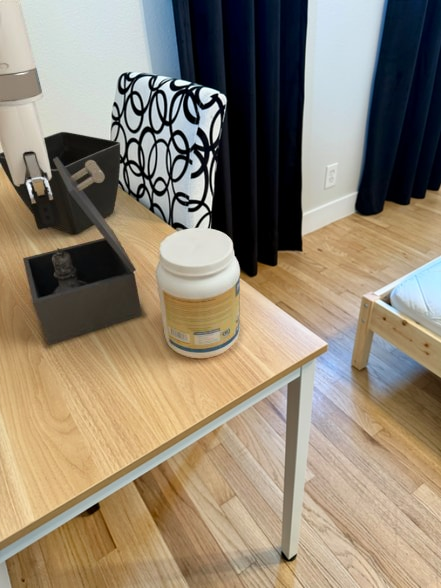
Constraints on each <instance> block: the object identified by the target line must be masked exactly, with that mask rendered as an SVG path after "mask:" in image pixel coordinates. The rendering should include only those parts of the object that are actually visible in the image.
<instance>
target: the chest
mask: <svg viewBox="0 0 441 588" xmlns="http://www.w3.org/2000/svg"><path fill="white" fill-rule="evenodd" d="M60 249H61V251H65V252H67V253H69V255H70V257H71V261H72V264H73V267H75V268H76V269H77V272H76V276H77V279H78V280H79V281H83V282H85V283H87V285H84V286H80V287H77V288H73V289H70V290H66V291H62V292H59V293H55V294H53V292H54V290H55V289H56V288H57V287H58V286H59V282H58V279H57V278H56V277H55V276H54V273H55V268H54V265H53V262H52V257H53V255H54V254H55V253H57V249H54V250H50V251H46V252H43V253H38V254H34V255H30V256H27V257H23V258H22V261H23V266H24V269H25V273H26V278H27V283H28V287H29V292H30V295H31V301H32V304H33V307H34V310H35V312H36V315H37V317H38V321H39V323H40V325H41V327H42V331H43V333H44V336H45V339H46V341H47V344H48V345H49V346H50V345H53V344H56V343H60V342H64V341H67V340H70V339H72V338H76V337H80V336H82V335H85V334H88V333H91V332H92V333H93V332H94V331H97V330H98V331H99V330H101V329H104V328H108V327H110V326H114V325H117V324H119V323H122V322H125V321H129V320H132V319H135V318H138V317H141V316H143V313H142V307H141V302H140V297H139V296H140V295H139V290H138V285H137V279H136V274H135V271H134V272H133V273H132V272H131V271H130V270H129V268H128V267H127V266H126V265H125V263H124V262H123V261H122V259H121V258H120V257H119V256H118V254H117V253H116V252H115V250H114V249H113V248H112V247H111V245H110V244H109V243H108V242H107V240H106V239H105V238H104V237H103V238H99V239H94V240H91V241H86V242H83V243H78V244H75V245H70V246H67V247H62V248H60Z"/></svg>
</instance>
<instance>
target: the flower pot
mask: <svg viewBox="0 0 441 588" xmlns="http://www.w3.org/2000/svg"><path fill="white" fill-rule="evenodd" d="M44 140H45V145H46V149H47V154H48V159H49V164H50V169H51V175H52V178H51V179H50V180H49V181H48V183H49V186H50V189H51V193H52V196H53V197H54V198H55V201H56V205H57V208H58V212H59V216H60V220H61V225H59V226H55V227H53V228H54V229H58V230H60V231H63V232H67V233H69V234H73V235H76V234H79V233H82V232H83V231H85V230H87V229H89V228H90V227H92V226H95V225H94V224H93V222H92V221H91V220H90V219H89V217H88V216H87V215H86V213H85V212H84V211H83V210H82V208H81V207H80V206H79V204H78V203H77V202H76V201H75V199H74V198H73V197H72V196H71V194H70V193H69V191H68V189H67V187H66V185H65V183H64V181H63V179H62V177H61V175H60V173H59V171H58V169H57V167H56V165H55V163H54V161H53V159H54V158H56V157H58V158H59V160H60V161H61V162H62V164H63V165H64V166H65V168H66V169H67V170H68V172H69V173H70V174H71V176H72V175H74V174H75V173H77V172H78V171H80V170H82V169H83V168H85V163H86V162H87V161H88V160H93V161H95V162H96V163H97V165H98V166H99V168H100V169H101V171H102V172H103V173H104V176H105V178H104V180H103V182H101V183H96V182H93V183H92V184H90V185H89V186H87V187H86V188H84V189H83V192H84V193H85V194H86V196H87V197H88V198H89V200H90V201H91V202H92V204H93V205H94V206H95V208H96V209H97V210H98V212H99V213H100V214H101V216H102V217H103V218H104V219H106V218H107V217H109V216H111V215H112V214H113V213H114V211H115V206H116V201H117V195H118V190H119V182H120V172H121V171H120V169H121V142H120V141H117V140H111V139H106V138H100V137H95V136H89V135H84V134H81V133H80V134H79V133H74V132H69V131H68V132H67V131H60V132H57V133H54V134H50V135H48V136H45V137H44ZM0 166H1V167H2V170H3V171H4V173H5V175H6V177H7V179H8V180H9V182H10V184H11V185H12V187H13V188H14V190H15V191H16V193H17V194H18V196H19V197H20V199H21V201H22V202H23V203H24V205H25V206H26V207H27V209H28V210H29V211H30V212H31V214H32V215H33V212H32V209H31V205H30V201H29V198H28V195H27V192H26V189H25V185H24V184H20V186H16V185H15V184H14V182H13V179H12V176H11V173H10V170H9V167H8V164H7V161H6V158H5V155H4V152H3V151H2V152H0ZM26 176H27V175H26ZM90 177H91V176H90V175H89V173H87V174H85V175H84V176H82V177H81V178H79V179H78V180H76V182H77V184H78V185H79V184H80V183H82V182H83V181H85V180H86V179H88V178H90Z"/></svg>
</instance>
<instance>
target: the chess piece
mask: <svg viewBox="0 0 441 588" xmlns="http://www.w3.org/2000/svg"><path fill="white" fill-rule="evenodd" d="M61 249H62V248H59V247H58V248H56V250H57V253H55V254H54V255H53V257H52V262H53V265H54V268H55V273H54V276H55V277H56V278H57V279H58V282H59V286H58V287H57V288H56V289H55V290H54V292H53V294H55V293H59V292H62V291H66V290H70V289H73V288H77V287H80V286H84V285H87V283H85V282H83V281H79V280H78V279H77V276H76V272H77V269H76V268H75V267H73V264H72V261H71V257H70V255H69V253H67V252H65V251H61Z"/></svg>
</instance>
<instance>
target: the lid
mask: <svg viewBox="0 0 441 588" xmlns="http://www.w3.org/2000/svg"><path fill="white" fill-rule="evenodd" d="M53 161H54V163H55V165H56V167H57V169H58V171H59V173H60V175H61V177H62V179H63V181H64V183H65V185H66V187H67V189H68V191H69V193H70V194H71V196H72V197H73V198H74V199H75V201H76V202H77V203H78V204H79V206H80V207H81V208H82V210H83V211H84V212H85V213H86V215H87V216H88V217H89V219H90V220H91V221H92V222H93V224H94V225H93V226H95V228H96V229H97V230H98V232H100V234H101V235H102V236H103V238H105V239H106V240H107V242H108V243H109V244H110V245H111V247H112V248H113V249H114V250H115V252H116V253H117V254H118V256H119V257H120V258H121V259H122V261H123V262H124V263H125V265H126V266H127V267H128V268H129V270H130V271H131V272H132V273H133V272H134V273H135V272H136V271H137V269H136V267H135V266H134V264H133V262H132V260H131V259H130V256H129V255H128V254H127V251H126V250H125V249H124V247H123V245H122V243H121V242H120V240H119V238H118V236H117V235H116V233H115V232H114V230H113V229H112V228H111V226H110V224H108V222H107V221H106V220H105V218H103V217H102V216H101V214H100V213H99V212H98V210H97V209H96V208H95V206H94V205H93V204H92V202H91V201H90V200H89V198H88V197H87V196H86V194H85V193H84V192H83V189H84V188H86V187H87V186H89V185H90V184H92V183H93V182H96V183H101V182H103V180H104V178H105V176H104V173H103V172H102V171H101V169H100V168H99V166H98V165H97V163H96V162H95V161H93V160H88V161H87V162H86V163H85V168H83V169H82V170H80V171H78V172H77V173H75V174H74V175H72V176H71V174H70V173H69V172H68V170H67V169H66V168H65V166H64V165H63V164H62V162H61V161H60V160H59V158H58V157H56V158H54V159H53ZM87 173H89V175H90V176H91V177H90V178H88V179H86V180H85V181H83V182H82V183H80V184H79V185H78V184H77V182H76V180H78V179H79V178H81V177H82V176H84V175H85V174H87Z"/></svg>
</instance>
